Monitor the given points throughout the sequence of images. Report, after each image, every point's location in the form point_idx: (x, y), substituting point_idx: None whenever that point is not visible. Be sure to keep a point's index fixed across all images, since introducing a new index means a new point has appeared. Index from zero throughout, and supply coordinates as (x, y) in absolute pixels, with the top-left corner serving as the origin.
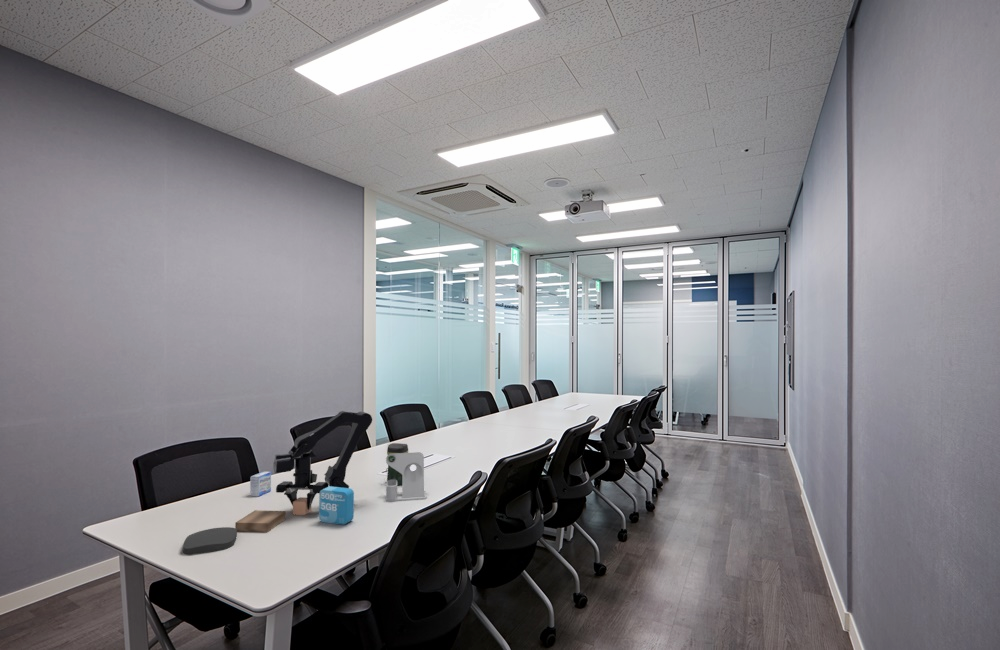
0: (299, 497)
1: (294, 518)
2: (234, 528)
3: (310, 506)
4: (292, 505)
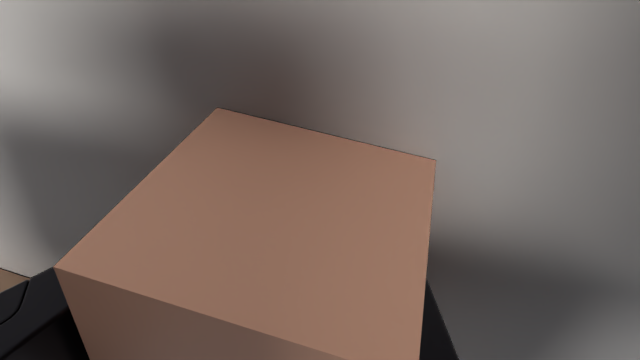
0: (65, 271)
1: None
2: None
3: (433, 314)
4: None
